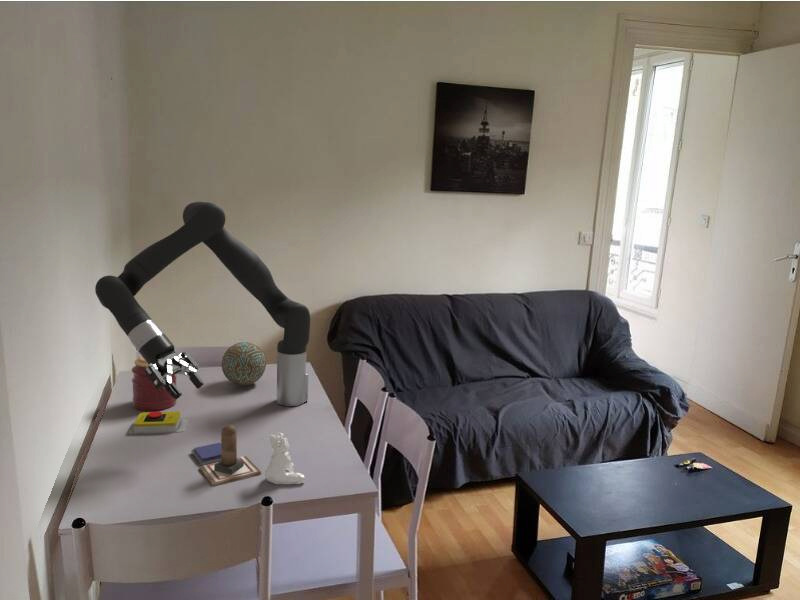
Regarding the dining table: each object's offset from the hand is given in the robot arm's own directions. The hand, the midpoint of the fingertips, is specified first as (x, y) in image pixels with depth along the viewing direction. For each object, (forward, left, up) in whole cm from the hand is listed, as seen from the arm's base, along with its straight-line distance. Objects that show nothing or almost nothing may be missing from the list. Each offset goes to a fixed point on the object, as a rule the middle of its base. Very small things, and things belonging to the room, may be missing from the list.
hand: (190, 391), depth 153 cm
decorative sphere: (-33, -48, -18) cm, 61 cm away
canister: (-2, -43, -18) cm, 46 cm away
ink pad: (-5, +1, -18) cm, 19 cm away
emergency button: (+2, -24, -19) cm, 31 cm away
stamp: (-6, +12, -17) cm, 21 cm away
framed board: (-6, +12, -18) cm, 22 cm away
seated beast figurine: (-15, +22, -18) cm, 32 cm away
